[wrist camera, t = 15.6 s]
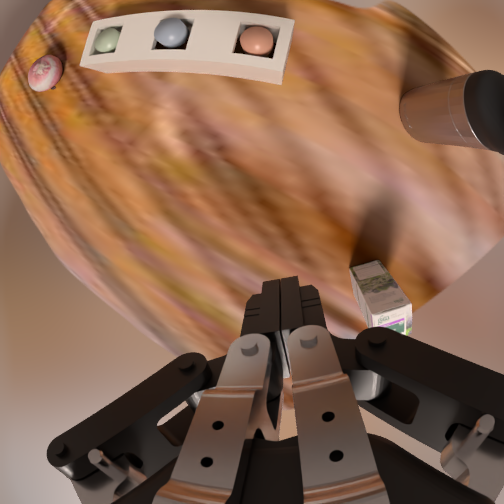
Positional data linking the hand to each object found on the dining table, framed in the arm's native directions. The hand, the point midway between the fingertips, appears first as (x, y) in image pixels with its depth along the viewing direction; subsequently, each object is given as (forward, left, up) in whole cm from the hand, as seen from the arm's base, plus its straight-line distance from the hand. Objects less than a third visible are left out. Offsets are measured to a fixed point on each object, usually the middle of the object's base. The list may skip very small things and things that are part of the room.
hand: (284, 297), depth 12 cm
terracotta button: (-2, -20, -25) cm, 33 cm away
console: (+8, -25, -31) cm, 41 cm away
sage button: (+18, -30, -25) cm, 43 cm away
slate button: (+8, -25, -24) cm, 36 cm away
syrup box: (-12, +18, -31) cm, 38 cm away
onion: (+36, -35, -31) cm, 59 cm away
